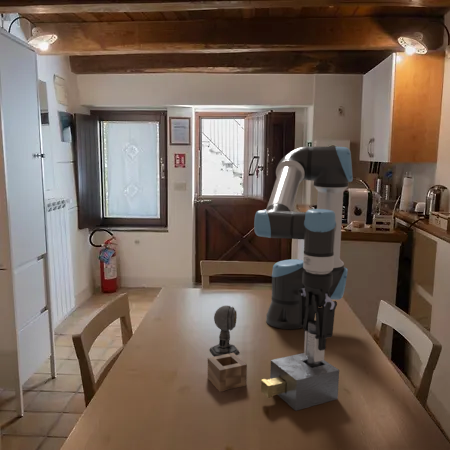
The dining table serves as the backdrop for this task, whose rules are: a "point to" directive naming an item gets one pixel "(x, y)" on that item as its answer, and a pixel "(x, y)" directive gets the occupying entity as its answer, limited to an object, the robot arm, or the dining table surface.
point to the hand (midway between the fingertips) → (313, 357)
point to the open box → (227, 371)
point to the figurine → (225, 330)
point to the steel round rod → (312, 344)
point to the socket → (305, 381)
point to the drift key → (273, 386)
